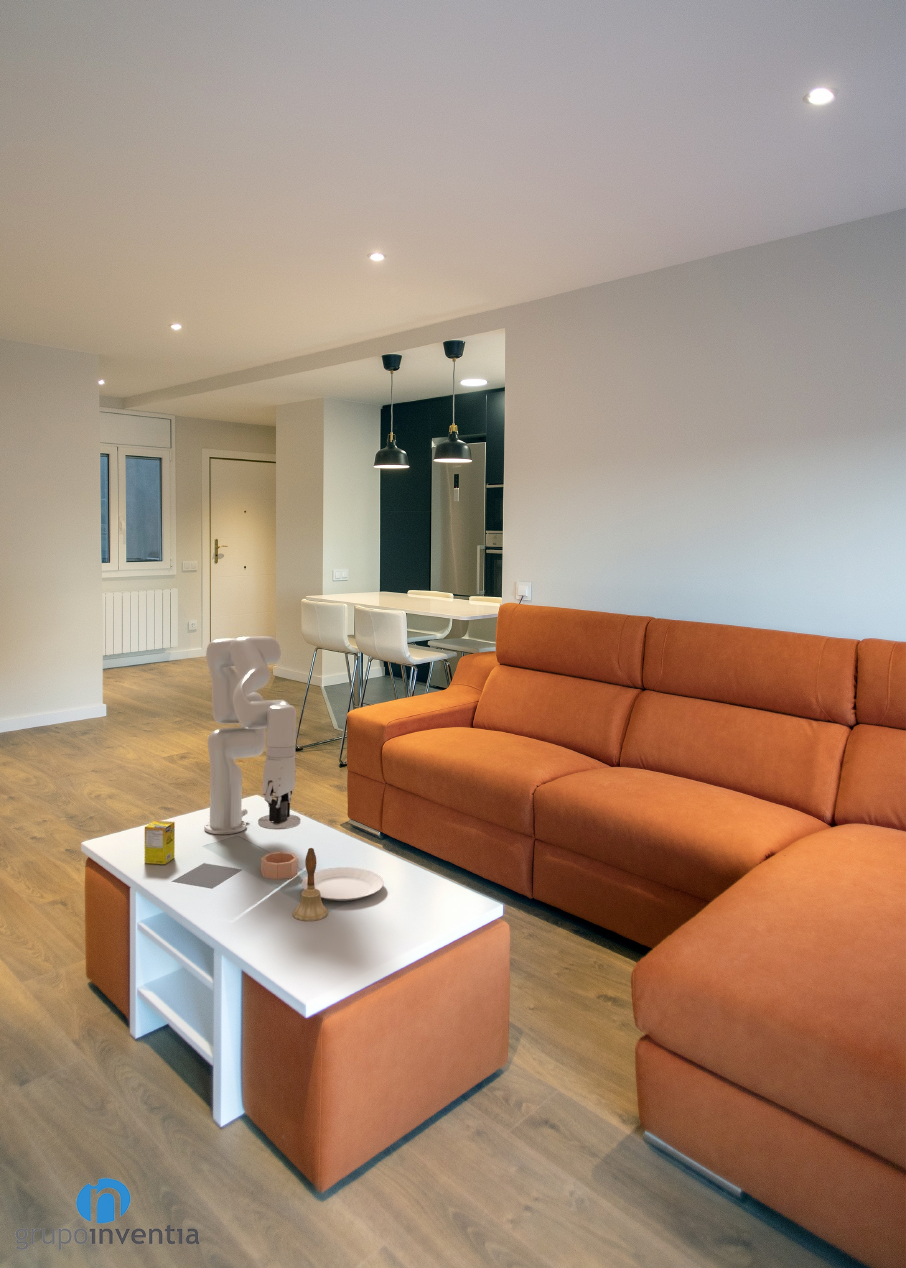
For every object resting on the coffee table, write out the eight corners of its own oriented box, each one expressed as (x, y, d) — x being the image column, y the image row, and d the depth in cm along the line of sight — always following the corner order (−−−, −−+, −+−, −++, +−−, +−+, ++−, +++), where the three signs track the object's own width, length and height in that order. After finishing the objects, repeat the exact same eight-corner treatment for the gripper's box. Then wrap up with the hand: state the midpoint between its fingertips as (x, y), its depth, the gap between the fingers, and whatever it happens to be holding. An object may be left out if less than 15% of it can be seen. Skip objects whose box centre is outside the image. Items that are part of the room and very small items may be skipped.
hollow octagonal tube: (272, 866, 220) (273, 850, 220) (302, 870, 218) (302, 854, 217) (255, 877, 212) (255, 861, 211) (286, 882, 209) (286, 865, 209)
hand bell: (311, 924, 185) (313, 857, 184) (285, 915, 190) (286, 849, 189) (335, 912, 192) (336, 847, 191) (309, 903, 197) (310, 840, 196)
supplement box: (174, 859, 222) (175, 821, 222) (165, 867, 217) (165, 827, 216) (154, 858, 223) (154, 819, 222) (143, 865, 217) (144, 826, 216)
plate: (284, 895, 202) (284, 886, 201) (334, 869, 220) (334, 861, 220) (352, 914, 192) (352, 905, 192) (398, 885, 211) (398, 877, 210)
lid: (271, 814, 220) (272, 793, 220) (307, 819, 217) (308, 798, 217) (250, 826, 210) (250, 804, 210) (287, 831, 207) (287, 809, 206)
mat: (203, 865, 219) (203, 863, 219) (242, 871, 216) (242, 869, 216) (171, 883, 206) (171, 881, 206) (212, 890, 202) (212, 888, 202)
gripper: (284, 744, 221) (282, 809, 223) (251, 756, 205) (250, 826, 207) (308, 746, 219) (306, 812, 220) (277, 759, 203) (275, 830, 204)
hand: (279, 818), depth 213 cm, fingers closed on lid, 4 cm apart
